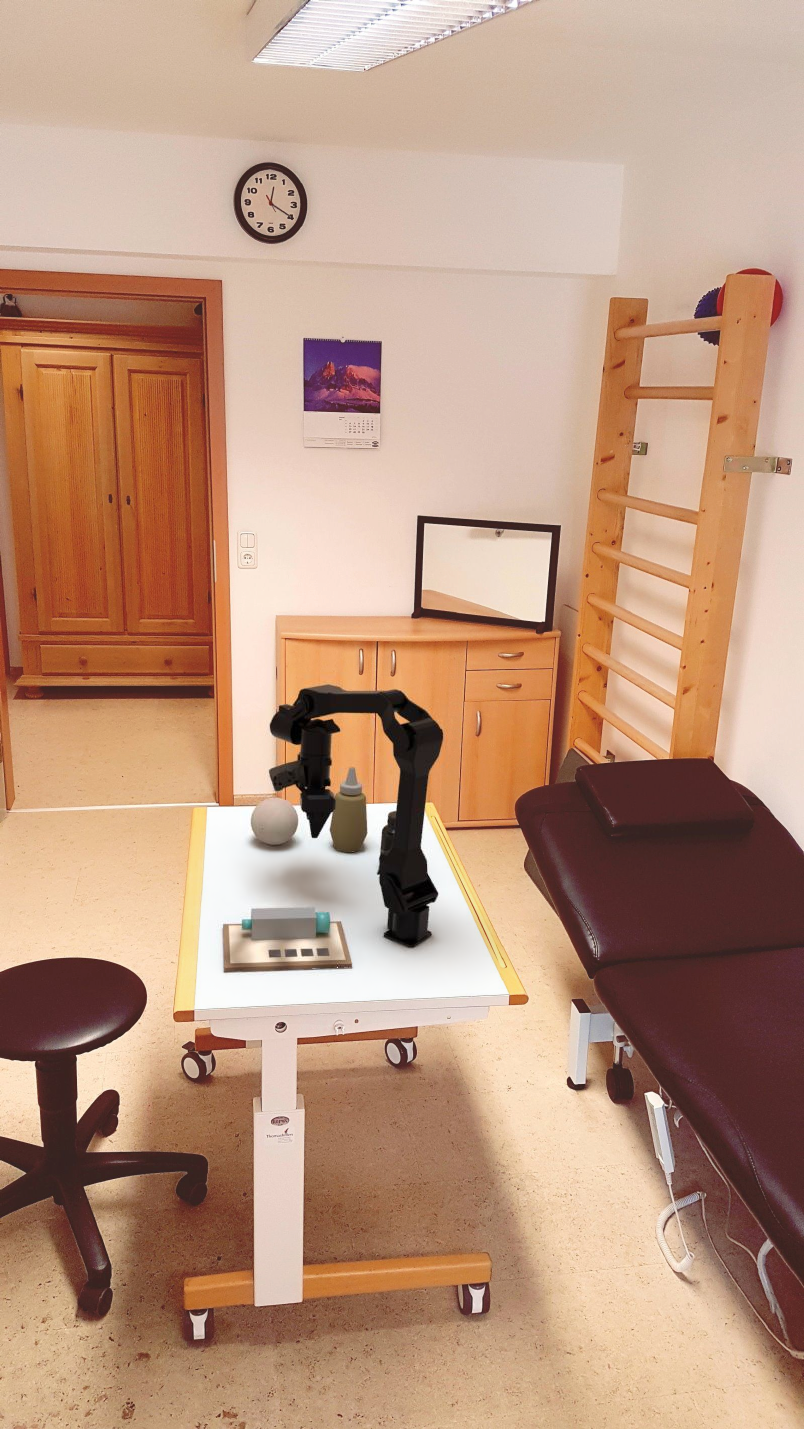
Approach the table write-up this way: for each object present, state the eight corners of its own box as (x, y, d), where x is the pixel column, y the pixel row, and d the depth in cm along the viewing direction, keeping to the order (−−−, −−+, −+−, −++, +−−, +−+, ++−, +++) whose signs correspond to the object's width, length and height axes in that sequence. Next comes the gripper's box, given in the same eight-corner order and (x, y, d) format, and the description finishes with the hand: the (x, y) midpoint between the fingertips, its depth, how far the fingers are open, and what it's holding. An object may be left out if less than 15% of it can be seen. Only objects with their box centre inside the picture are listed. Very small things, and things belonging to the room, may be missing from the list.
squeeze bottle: (324, 841, 220) (328, 762, 215) (359, 838, 223) (364, 760, 218) (335, 856, 213) (339, 775, 208) (371, 853, 215) (376, 773, 211)
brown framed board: (340, 925, 184) (341, 919, 183) (351, 967, 169) (352, 962, 169) (222, 928, 180) (223, 922, 179) (224, 972, 165) (224, 966, 165)
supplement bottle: (373, 870, 207) (376, 815, 204) (388, 859, 213) (392, 806, 210) (402, 879, 204) (406, 823, 201) (418, 867, 210) (422, 813, 207)
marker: (326, 927, 180) (327, 906, 179) (329, 938, 177) (330, 917, 176) (241, 929, 177) (242, 908, 176) (242, 940, 174) (242, 919, 173)
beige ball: (241, 846, 215) (242, 801, 212) (265, 830, 224) (266, 787, 221) (282, 856, 211) (284, 811, 208) (305, 839, 220) (307, 796, 217)
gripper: (269, 735, 198) (267, 810, 202) (275, 767, 181) (272, 848, 185) (326, 736, 200) (322, 810, 204) (337, 767, 183) (333, 848, 187)
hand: (311, 828), depth 195 cm, fingers open, 9 cm apart
